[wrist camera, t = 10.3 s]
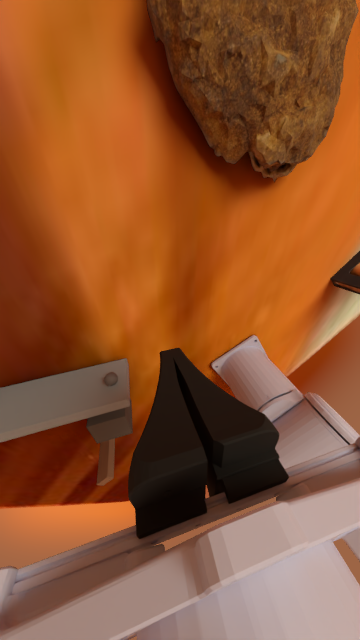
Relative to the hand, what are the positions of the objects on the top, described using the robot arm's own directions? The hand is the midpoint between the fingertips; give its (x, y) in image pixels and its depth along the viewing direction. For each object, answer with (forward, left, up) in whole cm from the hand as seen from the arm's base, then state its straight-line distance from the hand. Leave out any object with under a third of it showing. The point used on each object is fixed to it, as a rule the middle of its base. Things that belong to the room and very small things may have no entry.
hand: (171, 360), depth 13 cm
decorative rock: (+10, -17, -10) cm, 22 cm away
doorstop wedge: (-7, +13, -10) cm, 18 cm away
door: (0, +14, -9) cm, 17 cm away
